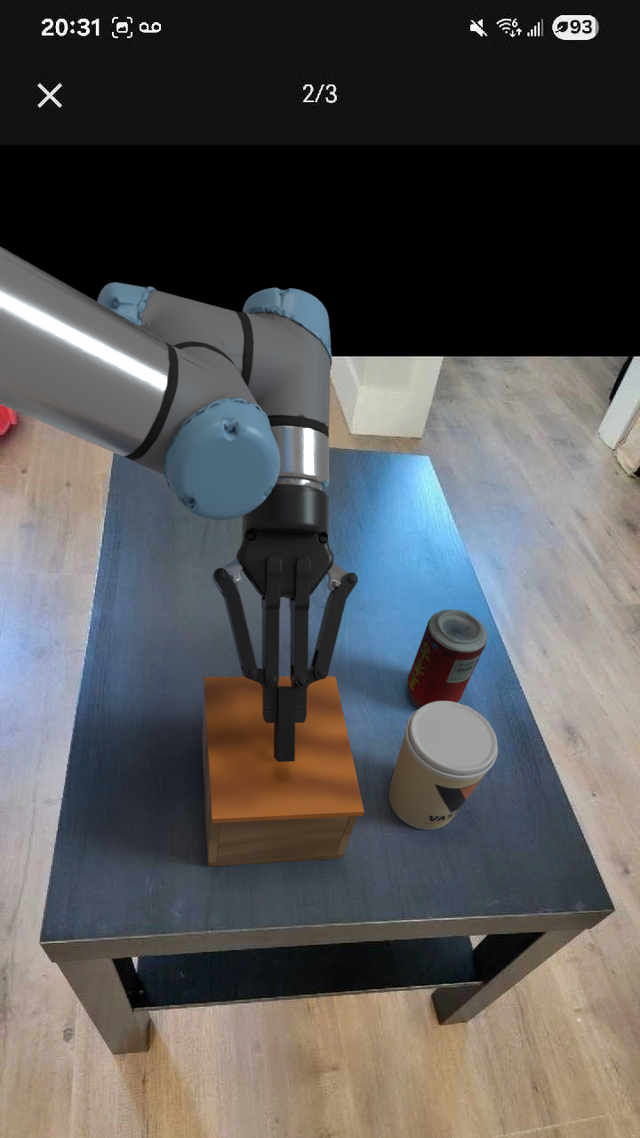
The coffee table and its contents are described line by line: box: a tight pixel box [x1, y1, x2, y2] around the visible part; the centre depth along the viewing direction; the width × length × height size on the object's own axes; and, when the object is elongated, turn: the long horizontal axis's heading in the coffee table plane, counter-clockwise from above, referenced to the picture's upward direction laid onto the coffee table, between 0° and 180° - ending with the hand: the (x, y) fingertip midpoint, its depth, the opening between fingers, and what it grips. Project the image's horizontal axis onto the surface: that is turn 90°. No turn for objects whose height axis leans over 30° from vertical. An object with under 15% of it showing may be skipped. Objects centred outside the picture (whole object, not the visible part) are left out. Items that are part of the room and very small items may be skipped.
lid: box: [203, 675, 365, 823], centre depth 66 cm, size 16×14×1 cm
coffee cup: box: [388, 701, 499, 831], centre depth 72 cm, size 9×9×12 cm
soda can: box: [407, 609, 488, 709], centre depth 82 cm, size 7×7×12 cm
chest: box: [201, 690, 358, 867], centre depth 70 cm, size 16×14×10 cm
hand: (284, 758), depth 62 cm, fingers closed
